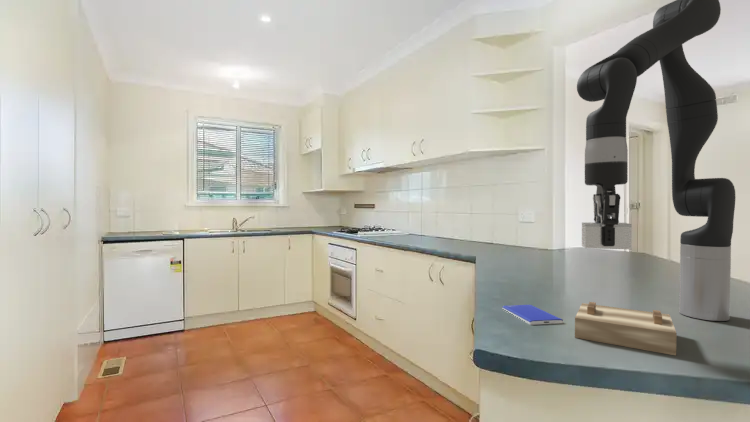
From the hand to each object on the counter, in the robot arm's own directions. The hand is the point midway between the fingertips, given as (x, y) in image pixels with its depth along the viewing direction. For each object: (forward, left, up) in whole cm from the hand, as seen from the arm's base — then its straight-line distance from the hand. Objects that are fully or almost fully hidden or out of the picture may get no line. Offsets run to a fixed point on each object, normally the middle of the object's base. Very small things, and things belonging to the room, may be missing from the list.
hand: (605, 244), depth 78 cm
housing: (0, 0, -1) cm, 1 cm away
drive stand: (-1, +3, -19) cm, 19 cm away
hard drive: (-5, -15, -19) cm, 25 cm away
